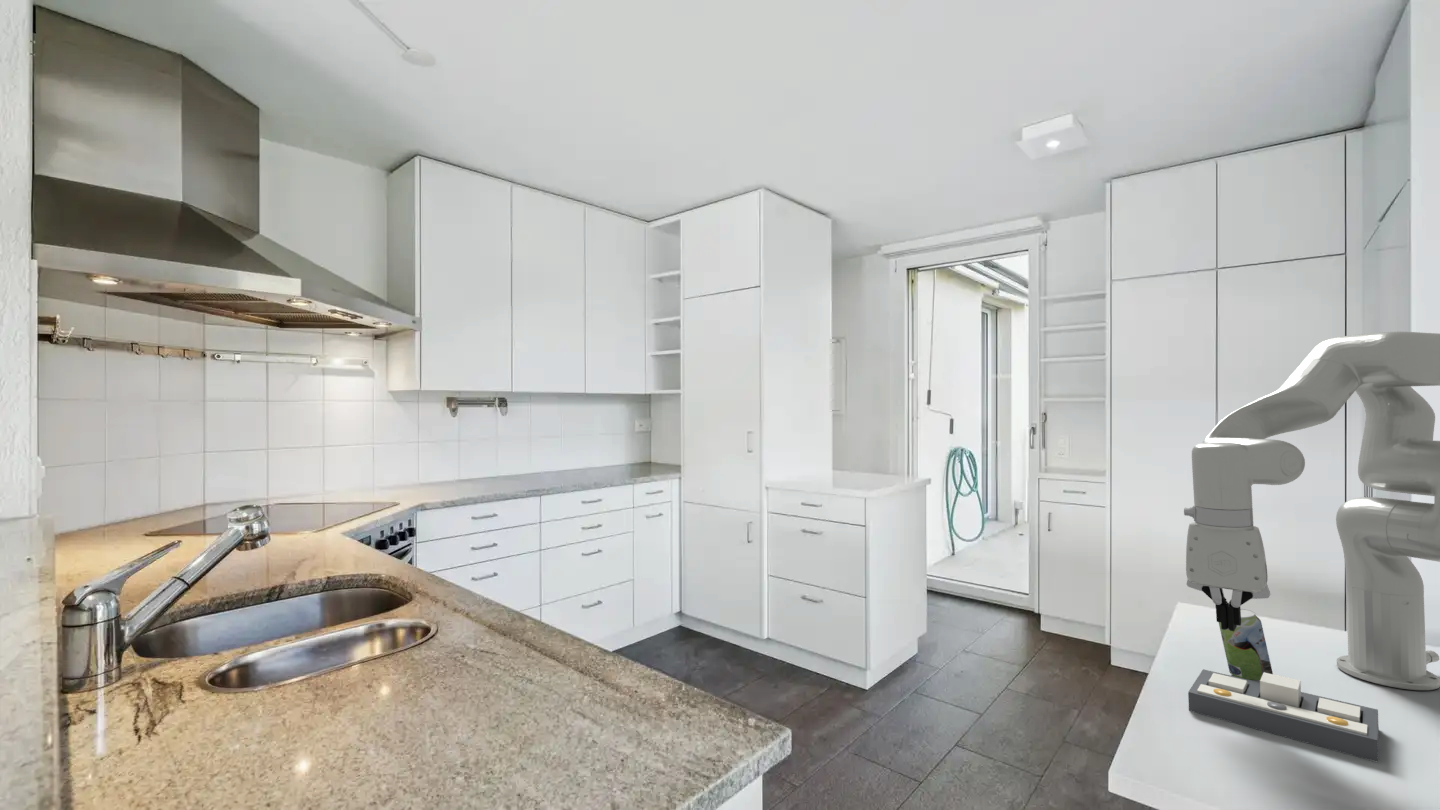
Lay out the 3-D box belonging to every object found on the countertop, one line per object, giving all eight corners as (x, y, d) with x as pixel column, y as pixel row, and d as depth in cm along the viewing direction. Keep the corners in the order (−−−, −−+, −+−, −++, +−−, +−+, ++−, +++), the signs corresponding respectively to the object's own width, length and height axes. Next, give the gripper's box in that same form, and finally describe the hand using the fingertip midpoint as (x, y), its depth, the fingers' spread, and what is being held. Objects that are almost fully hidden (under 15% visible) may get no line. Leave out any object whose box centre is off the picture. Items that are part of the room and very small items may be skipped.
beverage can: (1281, 687, 107) (1279, 618, 107) (1233, 684, 109) (1231, 616, 109) (1258, 672, 114) (1256, 606, 114) (1212, 669, 115) (1210, 605, 115)
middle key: (1264, 690, 101) (1263, 672, 101) (1301, 699, 98) (1300, 680, 98) (1260, 699, 98) (1259, 680, 98) (1298, 709, 95) (1297, 689, 95)
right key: (1320, 716, 96) (1319, 697, 96) (1360, 727, 93) (1360, 706, 93) (1318, 727, 93) (1317, 707, 93) (1360, 738, 90) (1359, 717, 90)
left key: (1213, 690, 106) (1213, 672, 106) (1247, 698, 102) (1247, 680, 102) (1209, 699, 103) (1208, 681, 103) (1243, 708, 99) (1243, 689, 99)
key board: (1203, 686, 108) (1202, 666, 109) (1378, 729, 93) (1377, 706, 93) (1188, 710, 100) (1188, 688, 100) (1378, 762, 85) (1377, 736, 85)
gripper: (1163, 516, 106) (1169, 624, 106) (1281, 526, 95) (1287, 646, 95) (1173, 509, 111) (1179, 612, 111) (1286, 518, 100) (1292, 632, 100)
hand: (1229, 627), depth 103 cm, fingers closed
